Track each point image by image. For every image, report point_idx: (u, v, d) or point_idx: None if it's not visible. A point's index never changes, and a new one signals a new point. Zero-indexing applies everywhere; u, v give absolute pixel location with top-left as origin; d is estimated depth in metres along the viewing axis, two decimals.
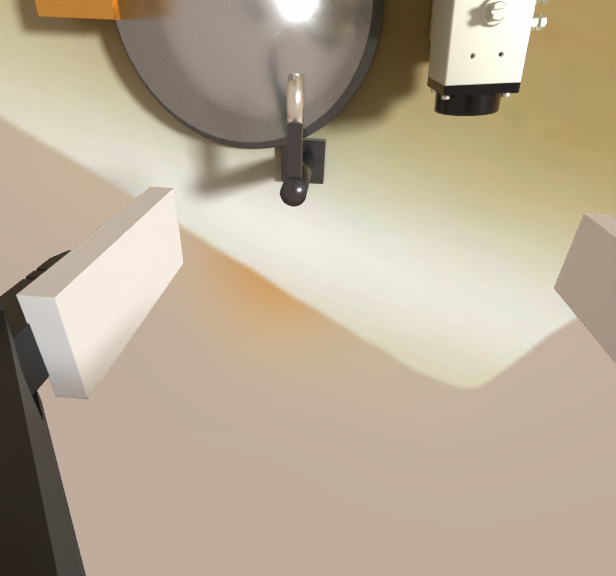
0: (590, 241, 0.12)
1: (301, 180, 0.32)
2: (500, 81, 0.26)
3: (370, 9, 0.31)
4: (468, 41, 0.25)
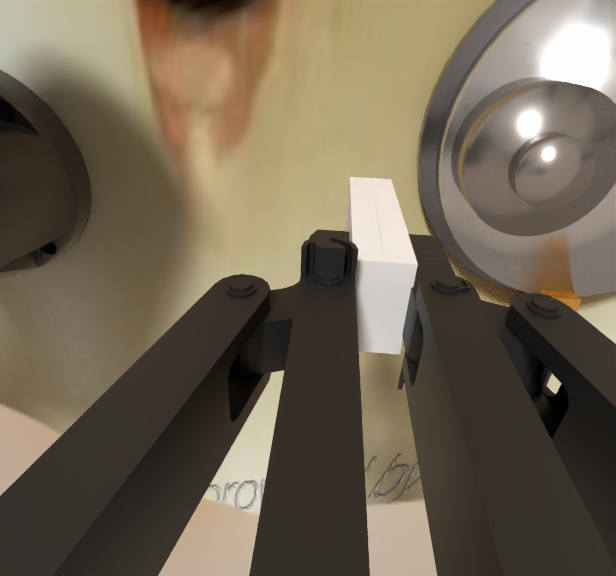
0: None
1: None
2: None
3: None
4: None
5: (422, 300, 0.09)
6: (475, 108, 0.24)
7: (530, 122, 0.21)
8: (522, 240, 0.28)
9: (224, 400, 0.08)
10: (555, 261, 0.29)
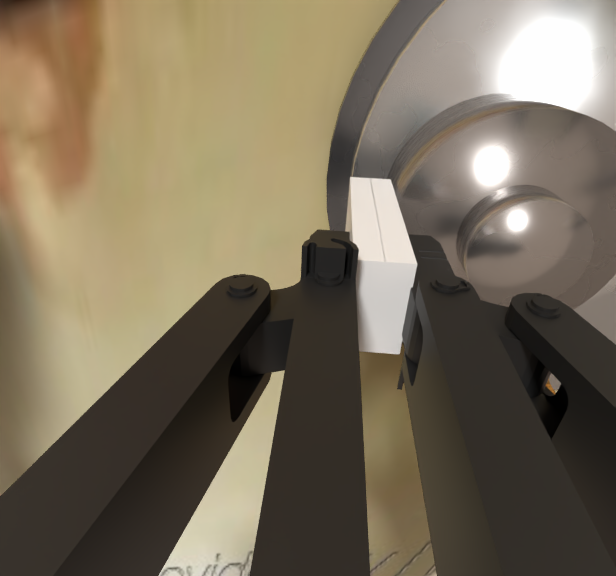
0: None
1: None
2: None
3: None
4: None
5: (422, 300, 0.09)
6: (409, 141, 0.16)
7: (486, 171, 0.13)
8: None
9: (225, 401, 0.08)
10: None
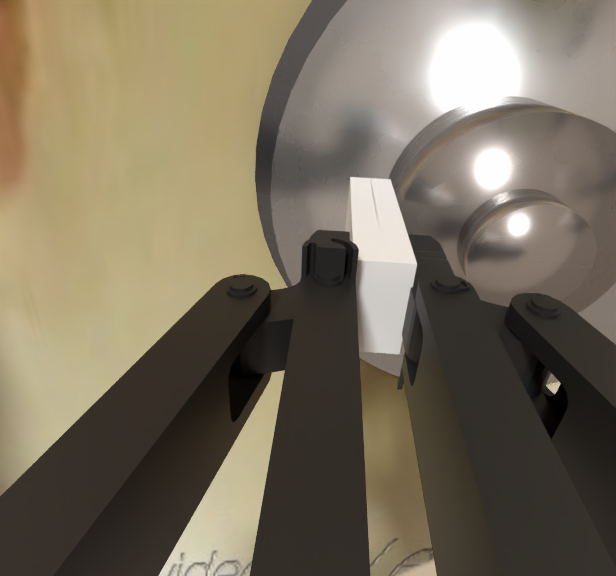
0: None
1: None
2: None
3: None
4: None
5: (422, 300, 0.09)
6: (411, 143, 0.15)
7: (488, 174, 0.13)
8: None
9: (225, 401, 0.08)
10: None
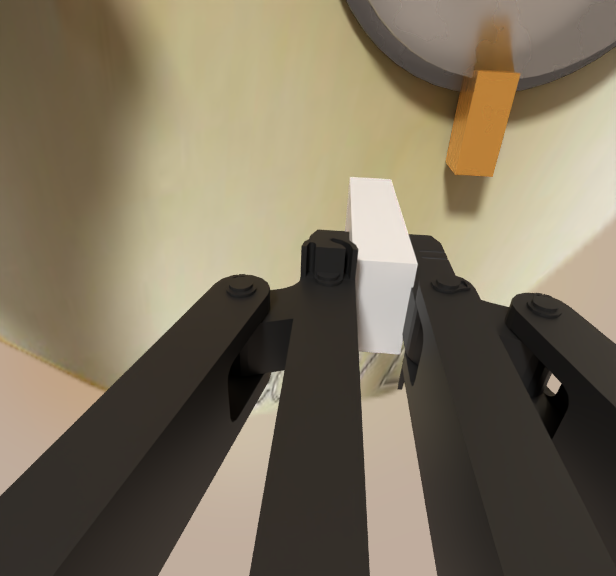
0: None
1: None
2: None
3: None
4: None
5: (422, 300, 0.09)
6: None
7: None
8: None
9: (225, 401, 0.08)
10: (488, 23, 0.24)
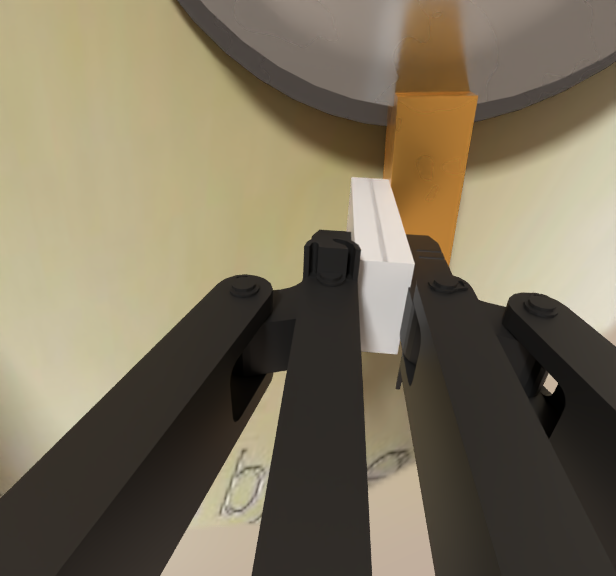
0: None
1: None
2: None
3: None
4: None
5: (420, 300, 0.09)
6: None
7: None
8: None
9: (227, 401, 0.08)
10: (409, 6, 0.13)
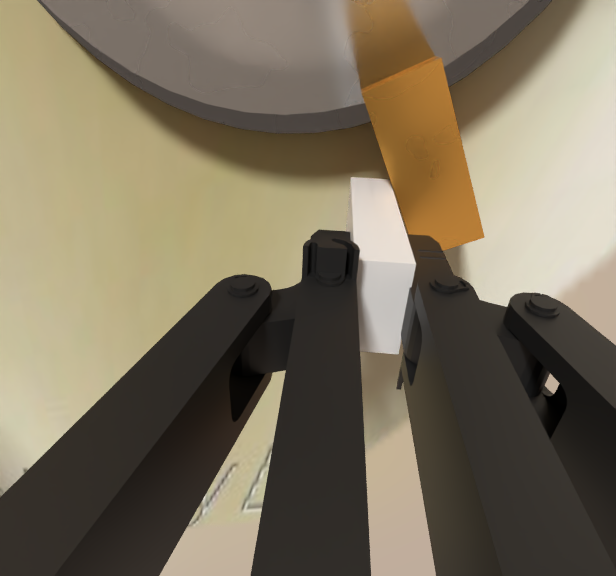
0: None
1: None
2: None
3: None
4: None
5: (421, 300, 0.09)
6: None
7: None
8: None
9: (226, 401, 0.08)
10: (341, 5, 0.12)
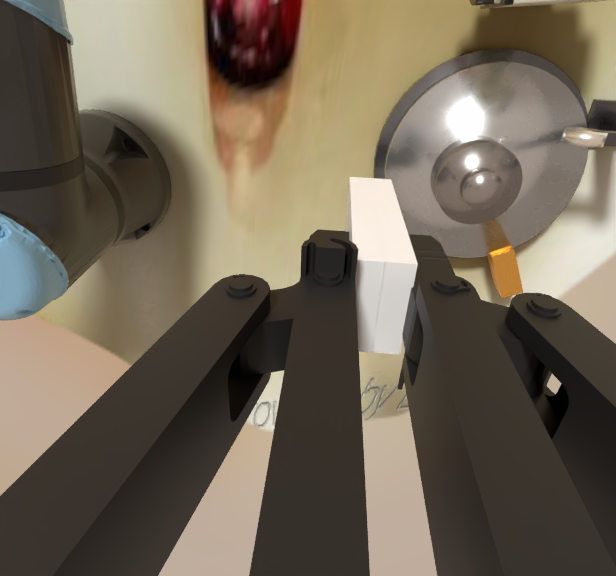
0: None
1: None
2: None
3: (459, 74, 0.39)
4: None
5: (422, 300, 0.09)
6: (433, 168, 0.43)
7: (459, 170, 0.40)
8: (460, 231, 0.47)
9: (224, 400, 0.08)
10: (487, 234, 0.47)
